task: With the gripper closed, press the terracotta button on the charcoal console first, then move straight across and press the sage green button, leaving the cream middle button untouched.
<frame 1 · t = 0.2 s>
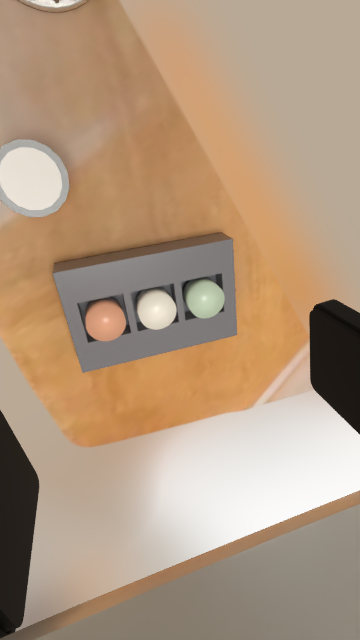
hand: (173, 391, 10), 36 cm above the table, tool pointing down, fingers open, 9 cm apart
light grey cup: (38, 175, 39), on the table
console: (149, 296, 48), on the table
terracotta button: (105, 318, 43), point 4 cm above the table, slide at 0.0 cm
sage button: (203, 297, 46), point 4 cm above the table, slide at 0.0 cm
cream button: (155, 307, 45), point 4 cm above the table, slide at 0.0 cm
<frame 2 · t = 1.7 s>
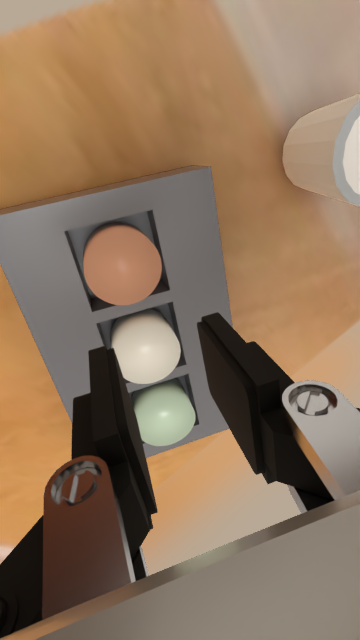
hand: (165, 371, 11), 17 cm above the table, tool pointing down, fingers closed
light grey cup: (313, 151, 27), on the table
console: (136, 322, 29), on the table
terracotta button: (121, 262, 23), point 4 cm above the table, slide at 0.0 cm
sage button: (162, 410, 29), point 4 cm above the table, slide at 0.0 cm
cream button: (144, 345, 26), point 4 cm above the table, slide at 0.0 cm
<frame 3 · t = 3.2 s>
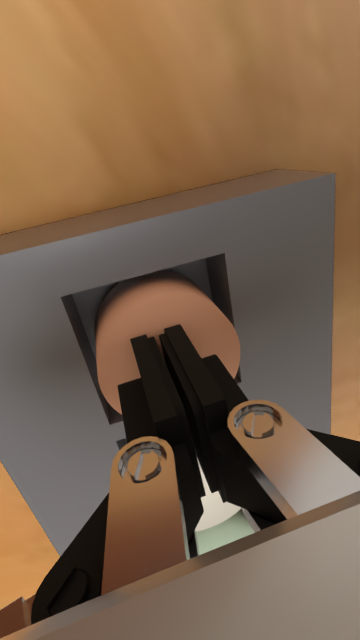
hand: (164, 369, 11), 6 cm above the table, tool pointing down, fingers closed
console: (172, 408, 19), on the table
terracotta button: (163, 345, 13), point 4 cm above the table, slide at 0.0 cm, touching gripper
sage button: (213, 546, 19), point 4 cm above the table, slide at 0.0 cm
cream button: (193, 464, 16), point 4 cm above the table, slide at 0.0 cm
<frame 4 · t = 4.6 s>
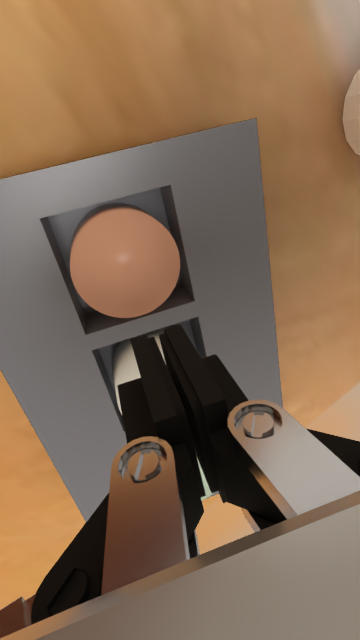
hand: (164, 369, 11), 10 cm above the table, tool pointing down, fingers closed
console: (146, 342, 22), on the table
terracotta button: (123, 259, 16), point 3 cm above the table, slide at 0.9 cm
sage button: (183, 458, 22), point 4 cm above the table, slide at 0.0 cm
cream button: (159, 376, 19), point 4 cm above the table, slide at 0.0 cm
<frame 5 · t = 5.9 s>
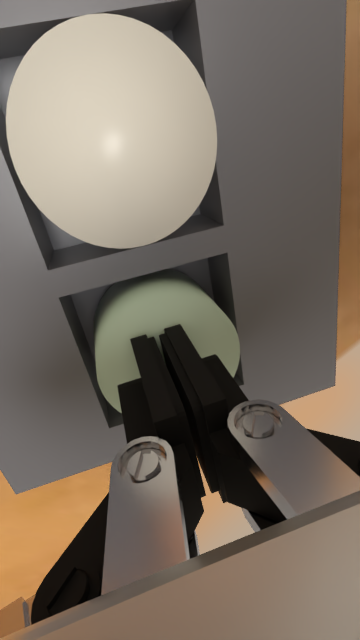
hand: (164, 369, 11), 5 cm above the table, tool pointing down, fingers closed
console: (105, 149, 13), on the table
sage button: (162, 343, 13), point 4 cm above the table, slide at 0.3 cm, touching gripper
cream button: (114, 147, 9), point 4 cm above the table, slide at 0.0 cm
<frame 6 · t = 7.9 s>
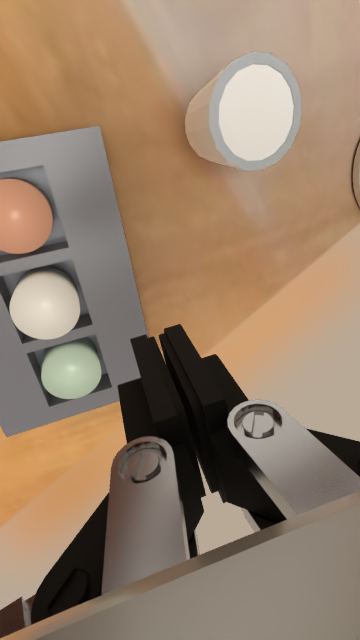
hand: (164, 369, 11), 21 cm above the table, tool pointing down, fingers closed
light grey cup: (215, 124, 29), on the table
console: (48, 286, 30), on the table
terracotta button: (16, 215, 24), point 3 cm above the table, slide at 0.9 cm
sage button: (71, 365, 30), point 3 cm above the table, slide at 0.9 cm
cream button: (46, 302, 27), point 4 cm above the table, slide at 0.0 cm
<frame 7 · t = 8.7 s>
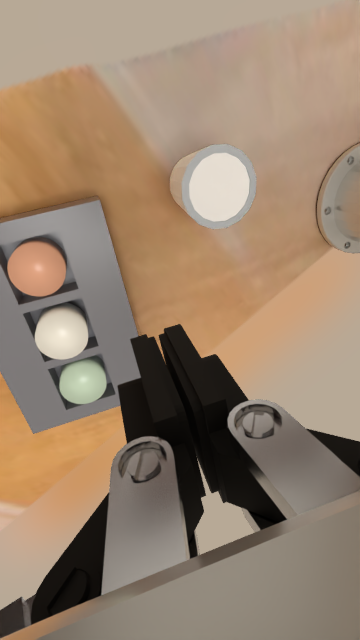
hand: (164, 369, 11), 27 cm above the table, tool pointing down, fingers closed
light grey cup: (195, 183, 36), on the table
console: (64, 314, 38), on the table
terracotta button: (38, 266, 32), point 3 cm above the table, slide at 0.9 cm
sage button: (83, 377, 38), point 3 cm above the table, slide at 0.9 cm
cream button: (62, 330, 34), point 4 cm above the table, slide at 0.0 cm
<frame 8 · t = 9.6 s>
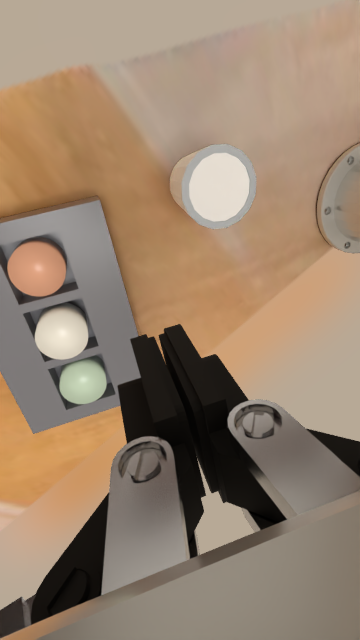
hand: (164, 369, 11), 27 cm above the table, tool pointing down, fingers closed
light grey cup: (195, 183, 36), on the table
console: (64, 314, 38), on the table
terracotta button: (39, 266, 32), point 3 cm above the table, slide at 0.9 cm
sage button: (83, 377, 38), point 3 cm above the table, slide at 0.9 cm
cream button: (62, 330, 34), point 4 cm above the table, slide at 0.0 cm
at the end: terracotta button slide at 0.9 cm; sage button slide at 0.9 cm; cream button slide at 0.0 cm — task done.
